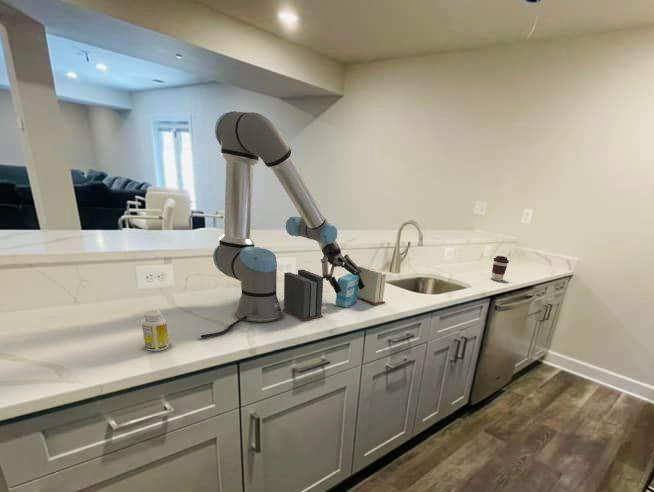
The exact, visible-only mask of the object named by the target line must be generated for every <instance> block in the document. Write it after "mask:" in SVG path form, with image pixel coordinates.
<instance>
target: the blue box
mask: <svg viewBox="0 0 654 492" xmlns="http://www.w3.org/2000/svg"><path fill="white" fill-rule="evenodd" d="M336 281H337V283H338V285H339V287H340V289H341V291H340V292H339V293H338V294H336V293H335V295H336V296H335V306H337V307H341V308H344V309H345V308H346V309H347V308H348V307H350V306H352V305H354V304H355V303H356V302H357V300H358V299H357V293H358V282H359V277H358V276H356V275H353V274H351V273H347V274H345V275H342V276H340V277H338V279H337V280H336Z"/></svg>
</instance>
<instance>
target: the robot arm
mask: <svg viewBox="0 0 654 492" xmlns="http://www.w3.org/2000/svg"><path fill="white" fill-rule="evenodd" d="M214 124H215V125H214V135H215V139H216V141H217V142H218V144H219V145H220V155H221V156H222V157H223V158H224V160H225V182H224V183H225V185H224V187H225V189H224V228H223V229H224V230H223V235H222V236H220V237H219V241H218V242H219V243H218V245H217V246H216V247H215V249H214V250H213V252H212V253H213V254H212V259H213V263H214V265H215V267H216V269H218V271H219V272H220V273H222V274H224V275H225V276H226V277H229V278H232V279H235V280H237V281H239V282H240V285H241V286H240V288H241V295H240V298H239V301H238V305H237V307H236V317H237V318H238V320H236V321H234V322H232V323H231V324H229V325H228V326H227V327H226V328H225V329H223V330H220V331H217V332H213V333H206V334H201V335H200V338H201V339H206V338H213V337H218V336H221V335H224V334H226V333H228V332H229V331H230V330H231V329H232V328H234V327H236V326H237V325H238V324H240V323H242V322H244V321H245V322H249V323H269V322H274V321H277V320H280V319H281V318H282V309H281V305H280V302H279V299H278V296H277V278H278V277H277V275H278V273H277V271H278V269H277V268H278V261H277V256H276V254H275V253H274V252H273V251H271V250H269V249H267V248H265V247H264V248H262V247H259V246H255V245H256V244H255V241H254V240H253V239H252V238H251V233H252V232H251V230H252V212H253V211H252V210H253V207H252V206H253V188H254V187H253V185H254V167H255V165H257V164H258V163H259V161H260V160H259V159H261V160H262V162H263V163H264V165H265V167H267V168H270V169H271V170H272V172H273V174H274V175H275V177H276V178H277V180H278V181H279V183H280V185H281V186H282V188H283V190H284V191H285V193H286V194H287V196H288V198H289V199H290V201H291V202H292V205H293V206H294V207H295V209H296V211H297V212H298V214H299V215H300V216H289V217H288V218H287V219H286V221H285V230H286V233H287V234H288V235H289V236H291V237H302V238H305V239H309V240H313V241H316V243H317V245H318V246H319V249H320V250H321V253H322V255H323V256H322V257H321V259H320V262H321V270H322V271H321V272H322V277H323V280H325V281H327V282H329V284H330V286H331V287H332V288H333V290H334V292H335V295H336V294H338V293H339V292H340V291H341V289H340V287H339V285H338V283H337V281H338V280H337V279H336V277H335V276H333V275H334V272H335V271H334V270H335V268H337V267H340V268H342V269H343V268H344V269H345V271H347V272H349V274H352V275H356V276H358V277H359V282H358V287H359V289H360V290H361V289H363V288H364V287H365V286H364V284H363V282H362V279H361V277H360V275H359V274H360V273H361V272H362V271H361V270H360V268H359V267H358V266H359V265H357V264H356V263H355V262H354V261H353V260H352V259H351V258H350V256H349V254H347V253H346V254H345V255H342V250H341V248H340V245H339V244H338V241H337V238H338V228H337V227H336V225H334V224H332V223H329V222H328V220H327V219H326V217H325V215H324V213H323V212H322V210H321V208H320V206H319V204H318V203H317V200H316V199H315V198H314V196H313V194H312V192H311V190H310V188H309V186H308V185H307V183H306V181H305V179H304V176H302V174H301V172H300V170H299V168H298V166H297V165H296V163H295V161H294V160H293V157H292V155H293V151H292V149H291V148H290V146H289V144H288V142H287V140H286V139H285V137H284V135H283V134H282V132H281V131H280V130H279V129H278V127H276V125H275V124H274V123H273V122H272V121H271V120H270V119H269V118H268V117H266V116H265V115H263V114H261V113H259V112H254V111H250V112H249V111H248V112H247V111H229V112H224V113H222V114H221V115H220V116H219V117H218V118H217V119H216V122H215V123H214Z"/></svg>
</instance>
